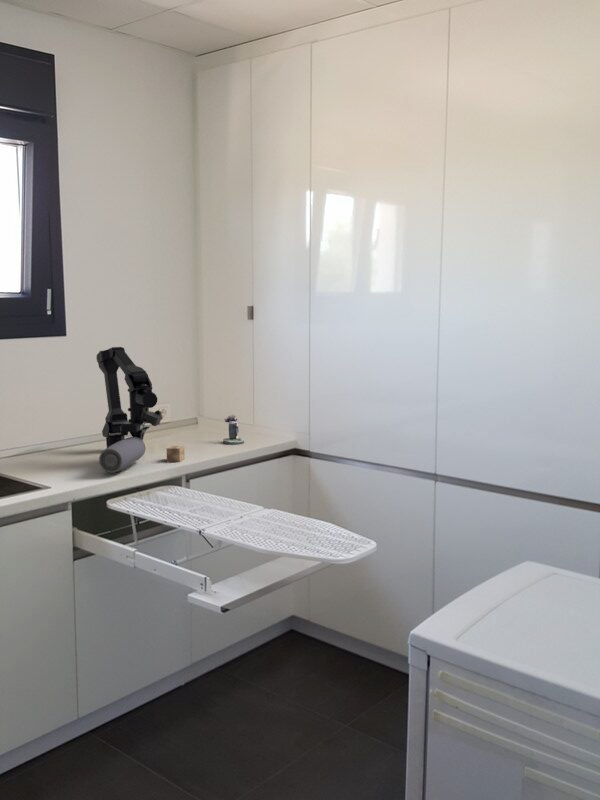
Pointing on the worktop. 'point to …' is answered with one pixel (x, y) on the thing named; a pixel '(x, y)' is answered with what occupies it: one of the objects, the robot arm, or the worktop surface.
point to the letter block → (175, 454)
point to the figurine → (233, 432)
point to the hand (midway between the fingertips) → (139, 446)
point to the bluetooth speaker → (122, 454)
